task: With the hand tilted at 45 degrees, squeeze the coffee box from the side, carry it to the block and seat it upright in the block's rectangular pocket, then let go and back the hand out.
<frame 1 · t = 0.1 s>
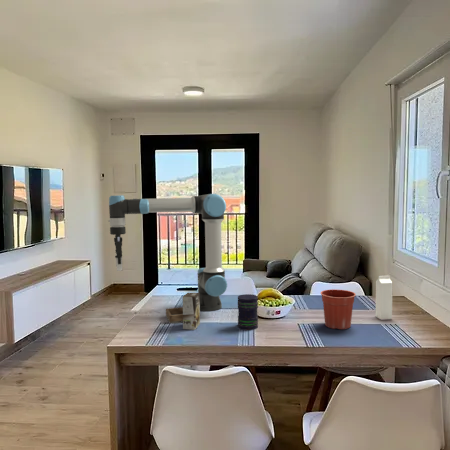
hand: (119, 268, 211), 28 cm above the table, tool pointing down, fingers open, 13 cm apart
flower pot: (337, 326, 203), on the table
coffee box: (191, 327, 205), on the table
pocket block: (180, 318, 219), on the table
milk: (383, 318, 215), on the table
storage jar: (248, 327, 204), on the table
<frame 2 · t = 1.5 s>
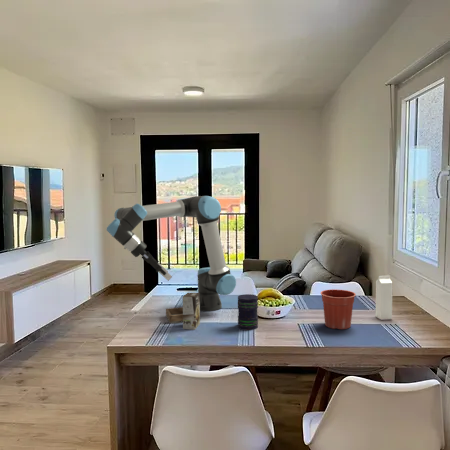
hand: (168, 276, 200), 26 cm above the table, tool tilted 45°, fingers open, 13 cm apart
nothing on the table moved.
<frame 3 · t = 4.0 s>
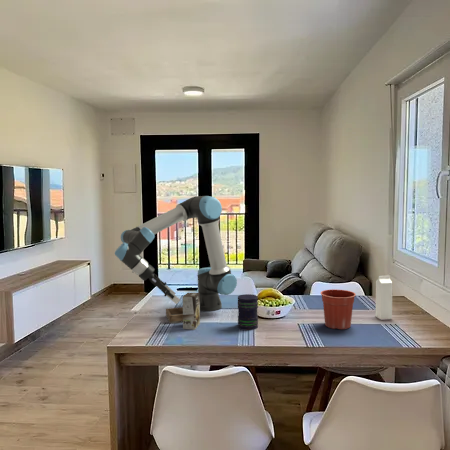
hand: (175, 298, 202), 15 cm above the table, tool tilted 45°, fingers open, 13 cm apart
nothing on the table moved.
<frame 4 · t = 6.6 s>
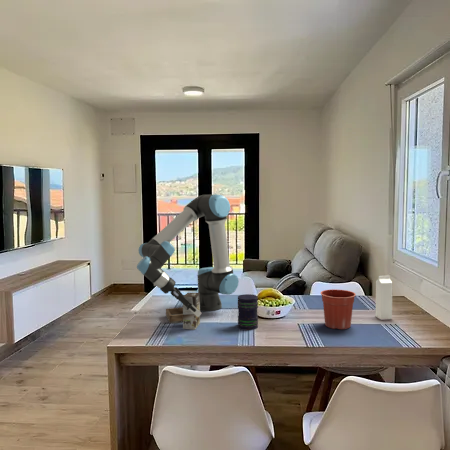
hand: (197, 311, 205), 7 cm above the table, tool tilted 45°, fingers closed on coffee box, 10 cm apart
coffee box: (191, 327, 205), on the table, touching gripper
everything else where it was.
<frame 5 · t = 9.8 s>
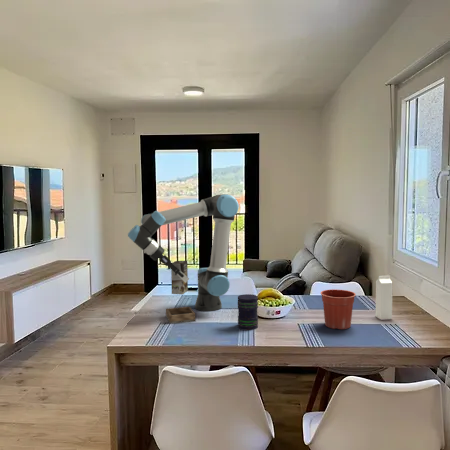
hand: (185, 278, 218), 21 cm above the table, tool tilted 45°, fingers closed on coffee box, 10 cm apart
coffee box: (179, 292, 217), point 14 cm above the table, touching gripper
everything else where it was.
when the fingers open (9 cm above the table, at t = 13.3 s): coffee box stays where it is, resting on pocket block.
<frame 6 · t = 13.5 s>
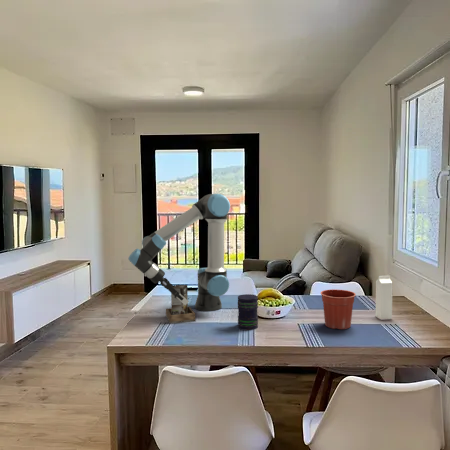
hand: (184, 300, 219), 10 cm above the table, tool tilted 45°, fingers open, 13 cm apart
coffee box: (180, 317, 219), point 1 cm above the table, touching pocket block
everything else where it was.
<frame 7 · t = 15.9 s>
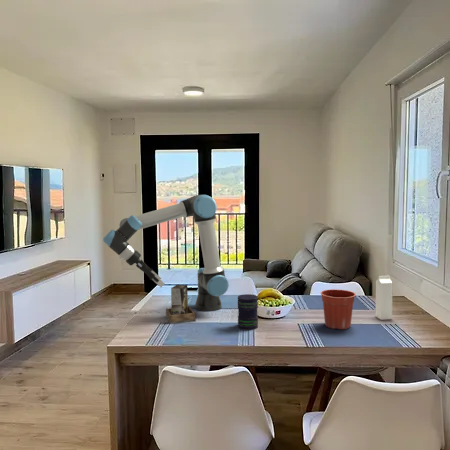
hand: (161, 282, 215), 20 cm above the table, tool tilted 45°, fingers open, 13 cm apart
nothing on the table moved.
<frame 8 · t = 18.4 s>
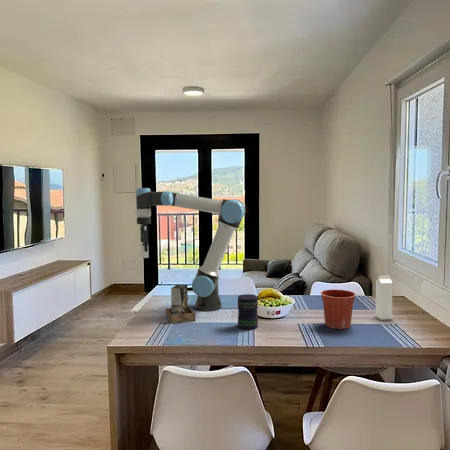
hand: (144, 255, 227), 32 cm above the table, tool pointing down, fingers open, 13 cm apart
nothing on the table moved.
at the end: coffee box 0.2 cm off-centre on the pocket block, point 0.8 cm above the pocket block's base; coffee box tilted 0°; the gripper is holding nothing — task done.
